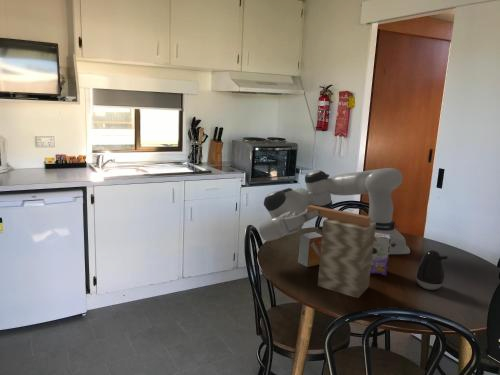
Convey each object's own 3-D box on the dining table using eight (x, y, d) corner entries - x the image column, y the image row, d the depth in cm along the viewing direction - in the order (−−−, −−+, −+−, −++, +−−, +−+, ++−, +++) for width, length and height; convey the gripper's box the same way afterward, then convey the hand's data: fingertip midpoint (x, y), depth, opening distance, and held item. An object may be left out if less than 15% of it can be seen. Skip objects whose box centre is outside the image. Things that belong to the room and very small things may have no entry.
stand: (317, 285, 162) (323, 221, 157) (330, 275, 172) (335, 214, 166) (358, 298, 154) (365, 230, 148) (368, 286, 164) (376, 222, 158)
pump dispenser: (437, 295, 159) (443, 257, 155) (410, 286, 165) (415, 249, 162) (447, 287, 166) (452, 251, 163) (420, 279, 173) (425, 243, 169)
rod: (306, 213, 165) (307, 206, 164) (310, 212, 168) (310, 204, 167) (366, 226, 152) (367, 218, 152) (369, 224, 155) (370, 216, 154)
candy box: (386, 270, 180) (391, 234, 176) (386, 276, 174) (391, 238, 171) (353, 265, 184) (357, 229, 180) (352, 270, 178) (356, 233, 175)
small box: (307, 267, 179) (309, 238, 176) (297, 262, 184) (299, 234, 181) (321, 264, 183) (324, 235, 181) (311, 259, 189) (314, 231, 186)
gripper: (306, 223, 179) (334, 212, 171) (283, 235, 162) (313, 224, 155) (301, 209, 180) (328, 198, 172) (277, 219, 163) (306, 208, 155)
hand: (321, 210), depth 163 cm, fingers closed on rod, 3 cm apart
